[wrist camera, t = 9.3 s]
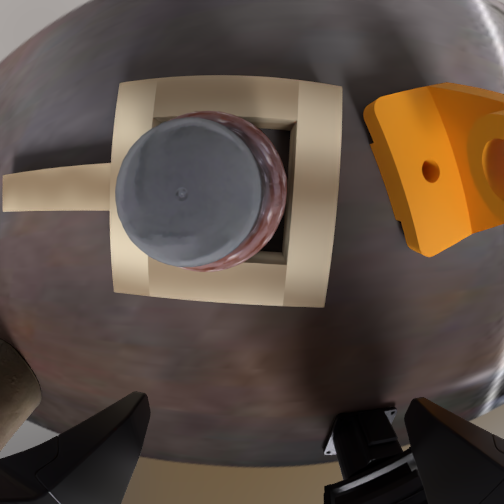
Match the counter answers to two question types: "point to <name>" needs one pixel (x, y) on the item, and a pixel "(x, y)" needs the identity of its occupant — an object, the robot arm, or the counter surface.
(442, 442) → the robot arm
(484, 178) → the bracket
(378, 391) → the counter surface
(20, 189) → the wooden frame with handle
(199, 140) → the supplement bottle
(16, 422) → the pillar candle
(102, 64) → the counter surface
